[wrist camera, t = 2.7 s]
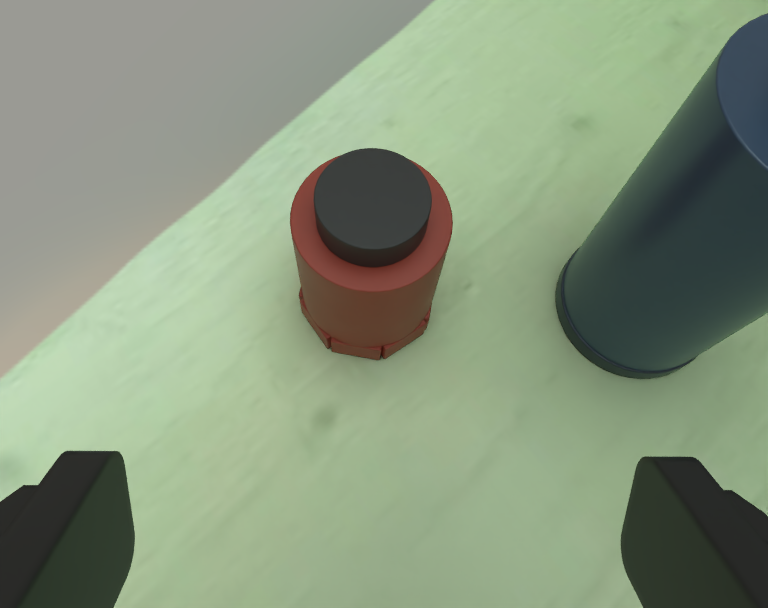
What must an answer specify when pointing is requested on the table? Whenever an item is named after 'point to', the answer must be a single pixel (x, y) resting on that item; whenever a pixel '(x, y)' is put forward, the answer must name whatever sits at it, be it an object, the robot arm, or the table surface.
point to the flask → (682, 230)
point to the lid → (369, 250)
